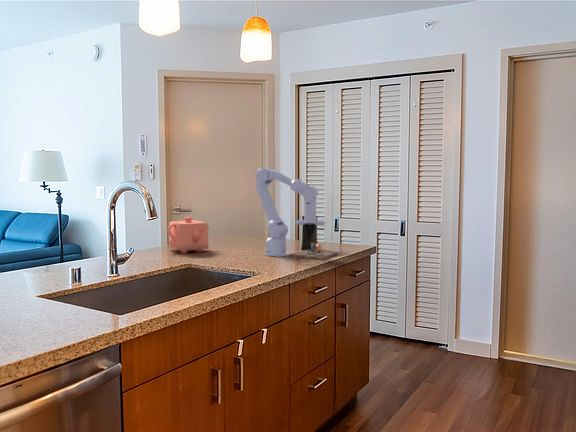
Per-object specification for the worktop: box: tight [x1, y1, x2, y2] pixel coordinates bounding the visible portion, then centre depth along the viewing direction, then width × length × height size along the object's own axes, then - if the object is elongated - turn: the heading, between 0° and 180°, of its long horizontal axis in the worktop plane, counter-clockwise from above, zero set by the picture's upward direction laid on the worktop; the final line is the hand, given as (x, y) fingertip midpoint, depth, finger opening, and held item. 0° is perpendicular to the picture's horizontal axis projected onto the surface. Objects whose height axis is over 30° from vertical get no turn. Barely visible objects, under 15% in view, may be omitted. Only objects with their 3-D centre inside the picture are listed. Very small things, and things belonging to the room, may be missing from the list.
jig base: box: [288, 243, 339, 261], centre depth 256 cm, size 18×18×6 cm
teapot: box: [166, 216, 210, 254], centre depth 266 cm, size 25×23×18 cm
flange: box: [305, 243, 322, 256], centre depth 254 cm, size 12×8×5 cm, turn 18°
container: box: [300, 215, 318, 251], centre depth 276 cm, size 9×9×18 cm
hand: (310, 240), depth 248 cm, fingers closed
